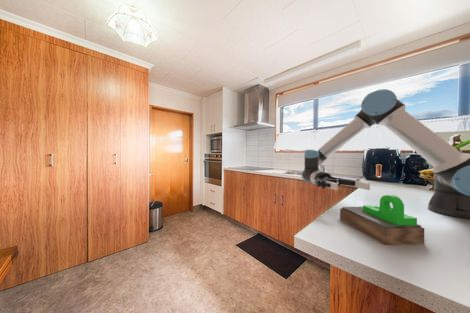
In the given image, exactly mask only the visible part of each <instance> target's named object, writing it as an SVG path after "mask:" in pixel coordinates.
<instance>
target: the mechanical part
mask: <svg viewBox="0 0 470 313" xmlns="http://www.w3.org/2000/svg"><path fill="white" fill-rule="evenodd" d="M379 199H380V200H379V205H362V207H363V211H364V212H366V213H369V214H371V215H374V216H376V217H378V218H381V219H383V220H385V221H388V222H390V223H393V224H395V225H417V224H418V218H416V217H414V216H411V215H409V214H406V213H405V204H404V202H403V200H402V199H401V198H400V197H399V196H397V195H392V194H389V195H387V194H386V195H382V196H381V197H380V198H379ZM391 204H392V206H391Z"/></svg>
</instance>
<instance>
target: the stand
mask: <svg viewBox="0 0 470 313" xmlns="http://www.w3.org/2000/svg"><path fill="white" fill-rule="evenodd" d="M339 220H340V221H342V222H344V223H345V224H347V225H349V226H351V227H353V228H354V229H356V230H358V231H360V232H362V233H364V234H365V235H367V236H369V237H371V238H372V239H374V240H376V241H377V242H379V243H381V244H384V245H385V246H388V245H393V246H395V245H415V243H422V244H425V227H422V224H421V225H420V224H419V223H417V225H395V224H393V223H390V222H388V221H385V220H383V219H381V218H378V217H376V216H374V215H371V214H369V213H366V212H364V211H363V206H342V207H340V208H339Z"/></svg>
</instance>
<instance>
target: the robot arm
mask: <svg viewBox="0 0 470 313" xmlns="http://www.w3.org/2000/svg"><path fill="white" fill-rule="evenodd" d="M360 106H361V109H360V111H359V112H358V113H357V114H356V115H354V119H353V120H351V121H350V122H349V123H348V124H347V125H345V127H343V128H342V129H341V130H340V131H338V133H336V134H335V135H334V136H332V137H331V138H330V139H329V140H328V141H326V142H325V143H324V144H323V145H322V146H321V147H320V148H319V149H305V151H304V167H303V168H304V169H303V170H302V172H301V175H300V176H301V179H302V180H303V181H305V182H306V183H309V184H314V185H316V186H317V187H319V188H320V187H321V188H322V189H326V188H327V189H329V190H330V189H331V190H334V191H339V186H342V185H343V186H347V187H348V186H349V187H355V188H357V189H362V190H365V191H366V190H367V191H371V183H370V182H365V181H362V180H359V178H358V179H351V178H350V179H349V178H344V177H342V178H341V177H334V176H332V175H331V174H330V173H329V172H325V171H319V169H320V168H319V165H322V164H323V163H324V161H326V160H327V159H328V158H329V157H331V156H332V155H333V154H335V153H336V152H337V151H338V150H340V149H341V148H342V147H344V146H345V145H346V144H347V143H348V142H350V141H351V140H353V138H355V137H356V136H357V135H359V134H360V133H362V131H364V130H365V129H369V128H371V127H372V126H373V125H375V124H376V125H378V126H385V127H386V128H387V129H388V130H389V131H391V132H392V133H393V134H394V135H396V136H397V137H398V138H399V139H400V140H402V141H403V143H404V144H406V145H408V146H409V147H410V148H411V149H413V151H415V152H416V153H417V154H419V156H421V158H423V159H424V160H426V161H427V162H428V163H429V164H430V165H431V166H433V167H432V173H434V177H433V178H434V180H433V181H434V182H433V184H434V185H433V187H434V188H433V189H434V190H433V194H432V196H431V198H430V200H429V202H428V204H427V209H428V210H430V211H431V212H434V213H437V214H438V213H439V214H441V215H446V216H451V217H457V218H461V219H462V218H463V219H470V153H463V152H461V151H459V150H458V149H457V148H456V147H454V146H453V145H452V144H450V143H449V142H447V141H446V140H445V139H444V138H442V137H441V136H440V135H438V134H437V133H436V132H434V131H433V130H431V129H430V128H429V127H428V126H426V125H425V124H424V123H422V122H421V121H420V120H418V119H417V118H415V117H414V116H413V115H412V114H410V113H409V112H408V111H407V110H406V106H407V105H406V104H405V103H403V102H402V101H401V100H399V99H398V98H397V95H396V94H395V92H394V91H392V90H390V89H387V88H380V89H379V88H378V89H375V90H373V91H371V92H369V93H368V94H366V95H365V97H363V100H362V102H361V104H360Z"/></svg>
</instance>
